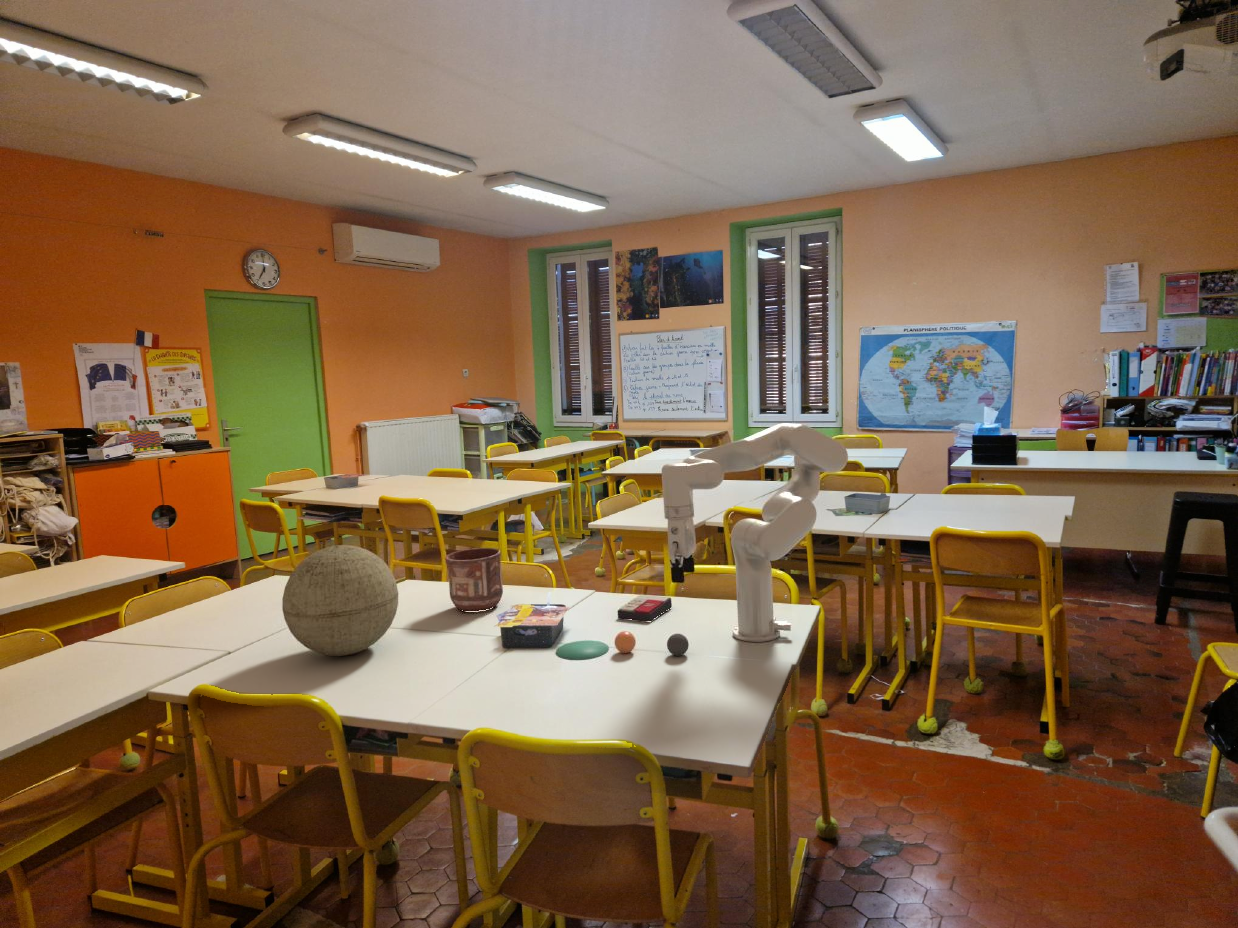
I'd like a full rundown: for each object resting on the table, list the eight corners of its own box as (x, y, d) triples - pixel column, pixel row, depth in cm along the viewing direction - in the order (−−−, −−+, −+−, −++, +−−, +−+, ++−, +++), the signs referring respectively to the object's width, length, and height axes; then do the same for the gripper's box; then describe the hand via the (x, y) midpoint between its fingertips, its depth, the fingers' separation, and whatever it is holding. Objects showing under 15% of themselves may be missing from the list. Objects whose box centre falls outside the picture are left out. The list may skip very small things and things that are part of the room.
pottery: (453, 602, 254) (448, 550, 252) (505, 597, 255) (501, 545, 253) (447, 618, 236) (442, 562, 234) (503, 613, 238) (499, 557, 236)
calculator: (616, 608, 225) (640, 592, 237) (617, 621, 225) (641, 605, 238) (649, 611, 219) (671, 595, 232) (650, 625, 220) (672, 608, 233)
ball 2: (691, 651, 194) (690, 631, 193) (686, 659, 188) (685, 638, 188) (670, 650, 195) (669, 630, 195) (665, 658, 190) (664, 637, 189)
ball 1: (638, 649, 198) (637, 628, 197) (632, 656, 193) (631, 635, 192) (618, 648, 199) (617, 627, 199) (612, 655, 194) (611, 634, 194)
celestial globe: (269, 657, 208) (258, 551, 205) (369, 628, 230) (360, 531, 227) (319, 682, 188) (307, 564, 185) (423, 647, 210) (414, 541, 206)
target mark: (615, 642, 204) (615, 641, 204) (598, 661, 191) (598, 660, 191) (567, 640, 208) (567, 639, 208) (547, 658, 195) (547, 657, 195)
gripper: (684, 518, 182) (688, 587, 184) (701, 505, 198) (705, 568, 200) (654, 518, 185) (659, 586, 187) (674, 505, 201) (678, 568, 203)
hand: (683, 577), depth 193 cm, fingers open, 9 cm apart
